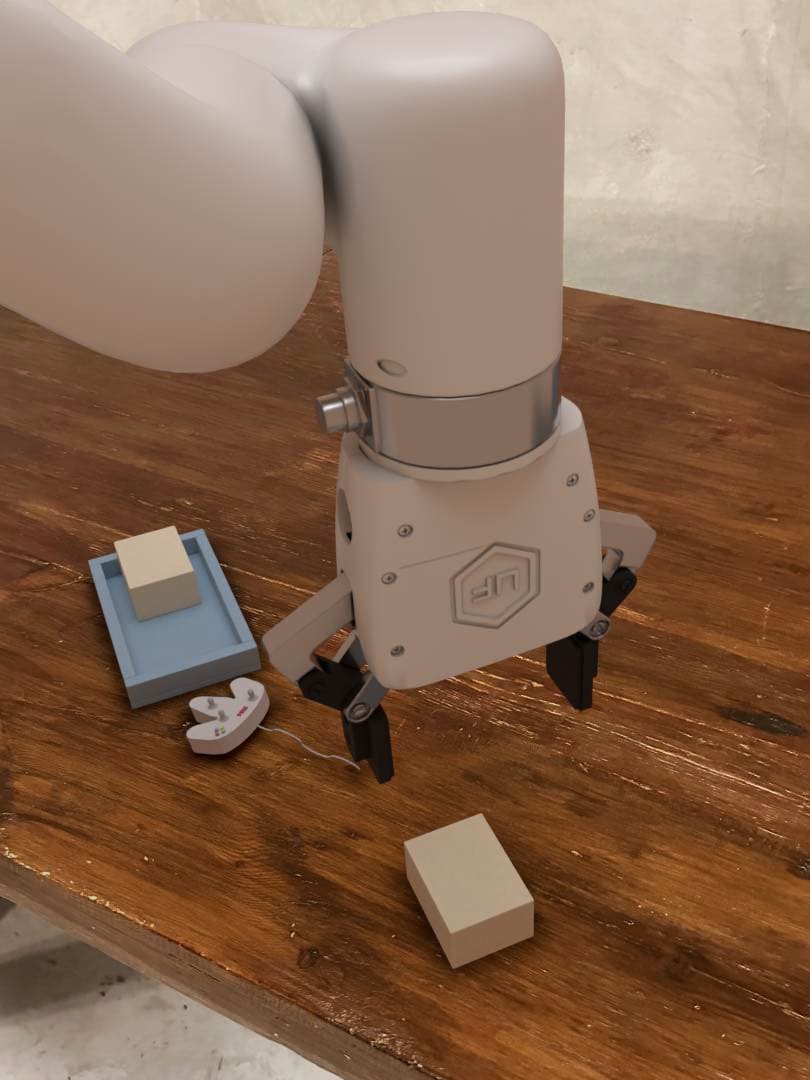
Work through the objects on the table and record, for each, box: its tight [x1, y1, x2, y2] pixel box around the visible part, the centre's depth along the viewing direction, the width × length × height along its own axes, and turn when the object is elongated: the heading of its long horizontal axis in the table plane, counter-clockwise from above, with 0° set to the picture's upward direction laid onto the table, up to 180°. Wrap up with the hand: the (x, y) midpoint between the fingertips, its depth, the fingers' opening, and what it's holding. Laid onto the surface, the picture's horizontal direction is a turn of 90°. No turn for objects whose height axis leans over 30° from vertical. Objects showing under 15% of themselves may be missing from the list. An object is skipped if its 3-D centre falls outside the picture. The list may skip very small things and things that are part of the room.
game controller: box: [185, 677, 361, 773], centre depth 69 cm, size 6×12×3 cm, turn 80°
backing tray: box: [87, 528, 262, 710], centre depth 78 cm, size 15×9×2 cm, turn 22°
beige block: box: [113, 525, 201, 622], centre depth 80 cm, size 6×4×3 cm
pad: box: [403, 812, 535, 970], centre depth 58 cm, size 6×4×3 cm
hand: (474, 724), depth 51 cm, fingers open, 9 cm apart
